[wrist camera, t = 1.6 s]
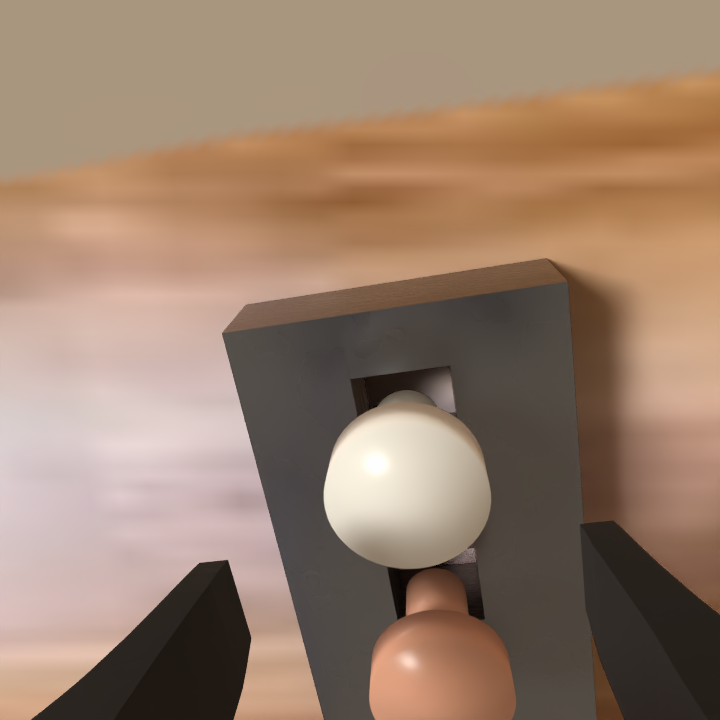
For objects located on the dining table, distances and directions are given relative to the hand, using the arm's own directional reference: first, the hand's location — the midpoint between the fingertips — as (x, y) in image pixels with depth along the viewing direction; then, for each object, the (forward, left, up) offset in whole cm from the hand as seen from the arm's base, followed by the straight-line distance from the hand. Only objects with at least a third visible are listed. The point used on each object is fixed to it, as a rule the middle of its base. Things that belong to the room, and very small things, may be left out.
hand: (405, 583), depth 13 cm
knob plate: (-7, 0, -10) cm, 12 cm away
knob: (0, 0, -7) cm, 7 cm away
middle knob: (-7, 0, -7) cm, 10 cm away
